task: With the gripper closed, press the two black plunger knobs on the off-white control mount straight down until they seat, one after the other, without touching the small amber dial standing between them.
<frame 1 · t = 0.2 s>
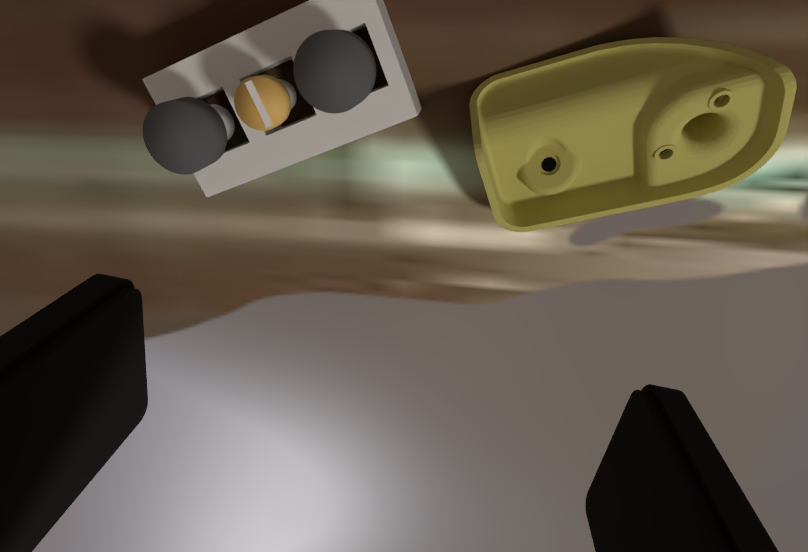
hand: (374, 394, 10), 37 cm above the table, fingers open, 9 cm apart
plastic component: (603, 132, 43), on the table
knob a: (198, 130, 40), point 6 cm above the table, slide at 0.0 cm
knob b: (342, 69, 37), point 6 cm above the table, slide at 0.0 cm
mount: (293, 91, 44), on the table
pot knob: (270, 100, 39), point 6 cm above the table, slide at 0.0 cm
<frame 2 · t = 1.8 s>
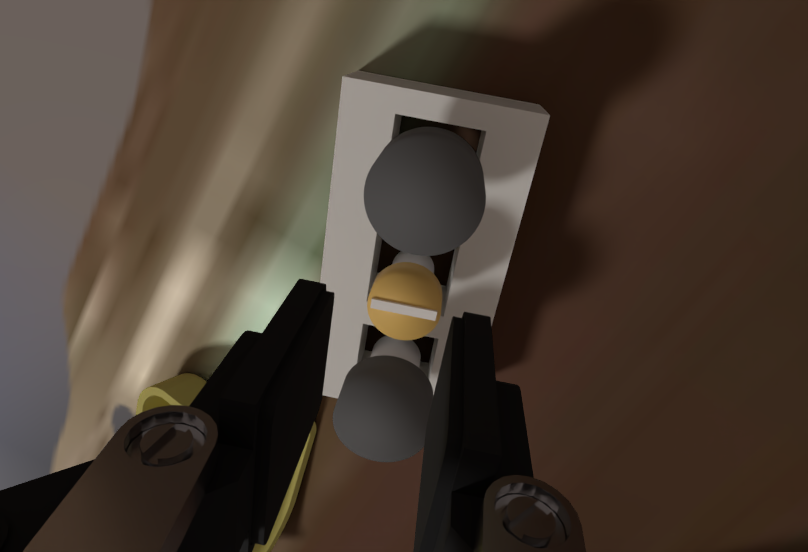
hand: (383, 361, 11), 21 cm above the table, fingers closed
plastic component: (219, 467, 43), on the table
knob a: (429, 179, 24), point 6 cm above the table, slide at 0.0 cm
knob b: (389, 386, 30), point 6 cm above the table, slide at 0.0 cm
mount: (417, 247, 33), on the table
pot knob: (408, 287, 28), point 6 cm above the table, slide at 0.0 cm
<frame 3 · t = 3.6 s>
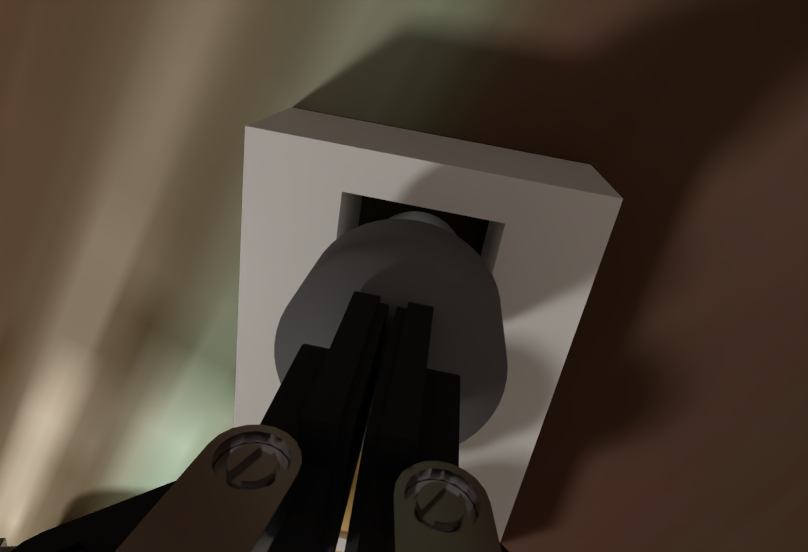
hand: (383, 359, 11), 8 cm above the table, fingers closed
knob a: (404, 300, 14), point 5 cm above the table, slide at 1.1 cm, touching gripper
mount: (394, 371, 21), on the table
pot knob: (370, 477, 16), point 6 cm above the table, slide at 0.0 cm
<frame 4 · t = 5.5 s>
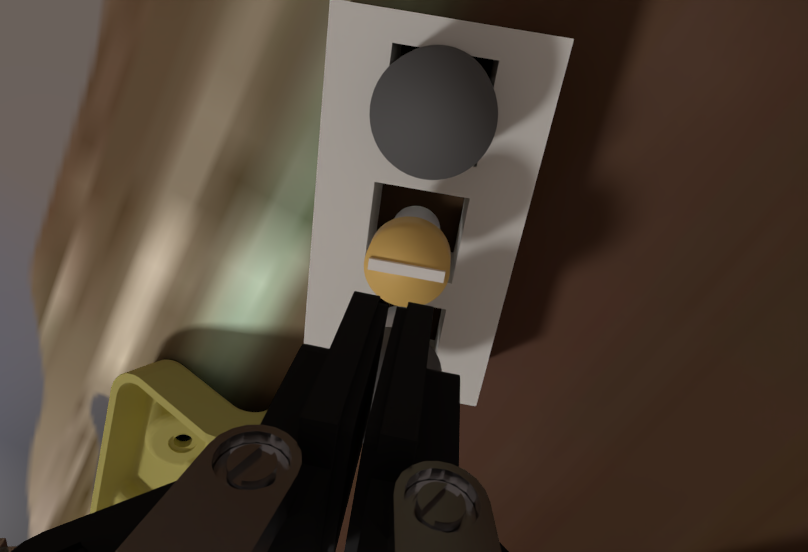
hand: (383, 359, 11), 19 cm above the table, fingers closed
plastic component: (199, 462, 40), on the table
knob a: (436, 105, 23), point 3 cm above the table, slide at 2.9 cm
knob b: (391, 363, 26), point 6 cm above the table, slide at 0.0 cm
mount: (420, 208, 29), on the table
pot knob: (411, 247, 24), point 6 cm above the table, slide at 0.0 cm
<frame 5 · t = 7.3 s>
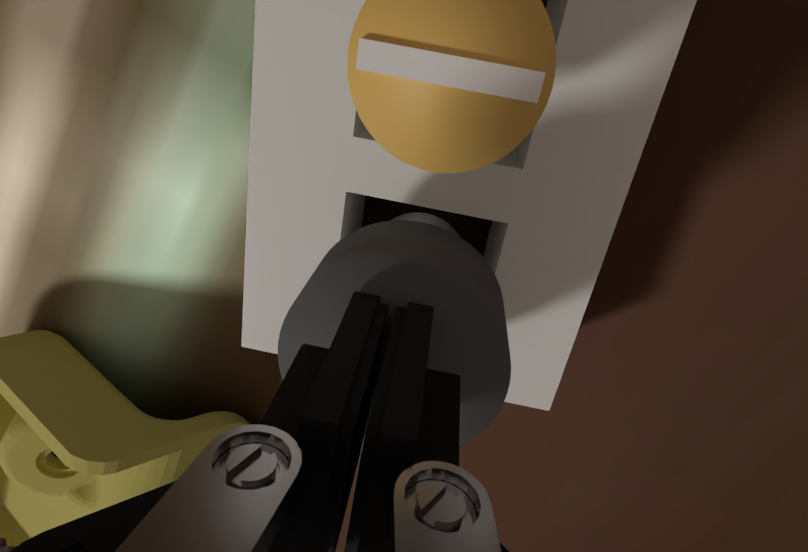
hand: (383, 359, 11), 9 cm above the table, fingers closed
plastic component: (101, 488, 27), on the table
knob b: (407, 301, 14), point 5 cm above the table, slide at 1.0 cm, touching gripper
mount: (458, 55, 16), on the table
pot knob: (453, 64, 11), point 6 cm above the table, slide at 0.0 cm
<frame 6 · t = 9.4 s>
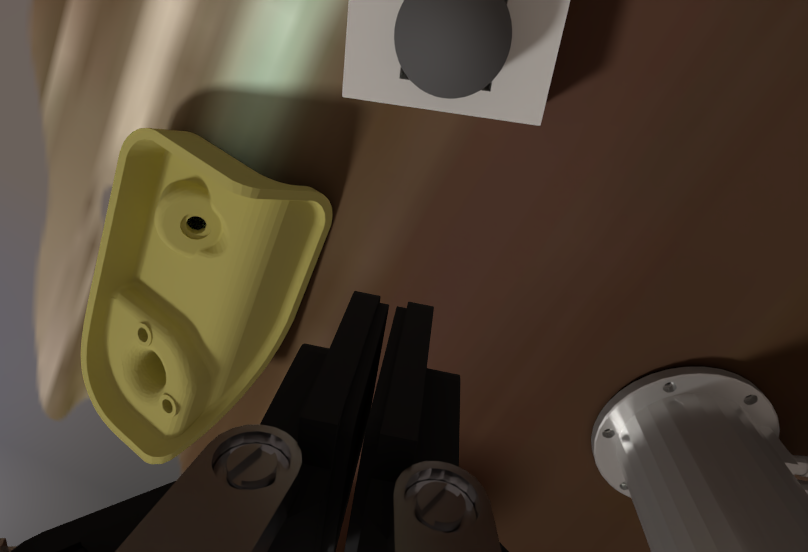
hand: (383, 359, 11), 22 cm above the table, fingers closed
plastic component: (207, 273, 37), on the table
knob b: (452, 34, 25), point 3 cm above the table, slide at 2.9 cm
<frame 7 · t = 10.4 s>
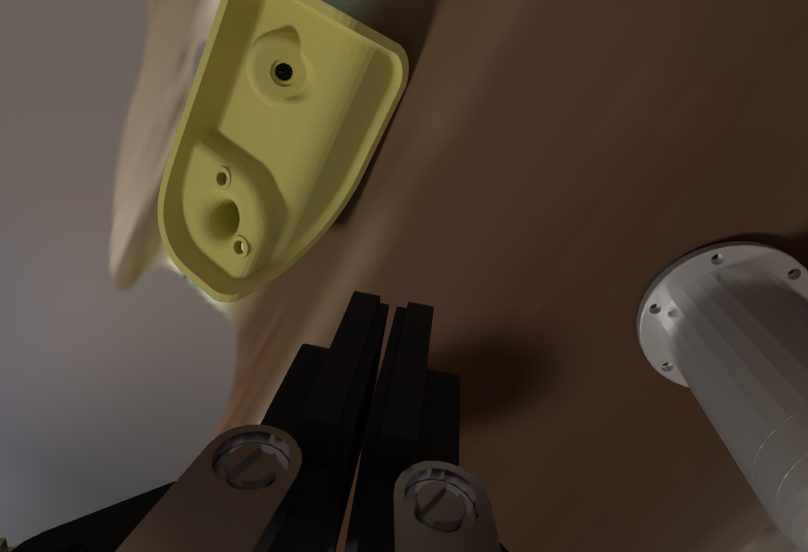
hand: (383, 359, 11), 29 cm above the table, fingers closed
plastic component: (280, 136, 39), on the table
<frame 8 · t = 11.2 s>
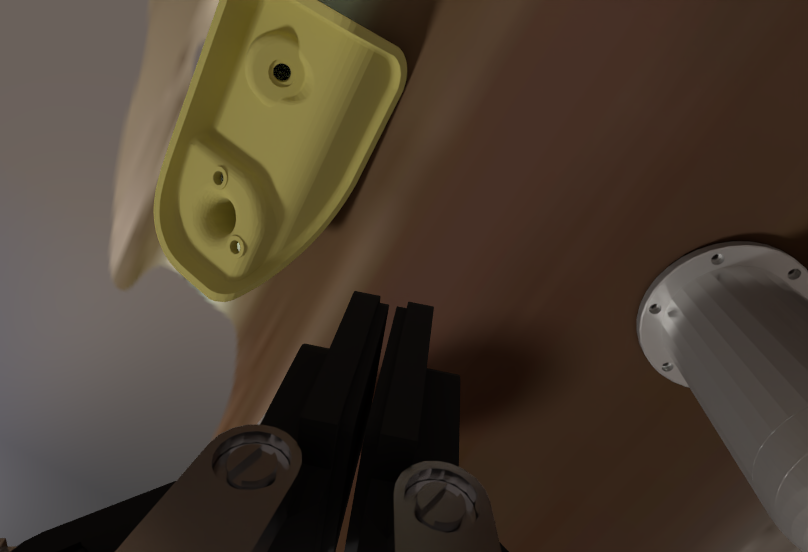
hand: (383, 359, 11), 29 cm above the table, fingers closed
plastic component: (277, 135, 39), on the table
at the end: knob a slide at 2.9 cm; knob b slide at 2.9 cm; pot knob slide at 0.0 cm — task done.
